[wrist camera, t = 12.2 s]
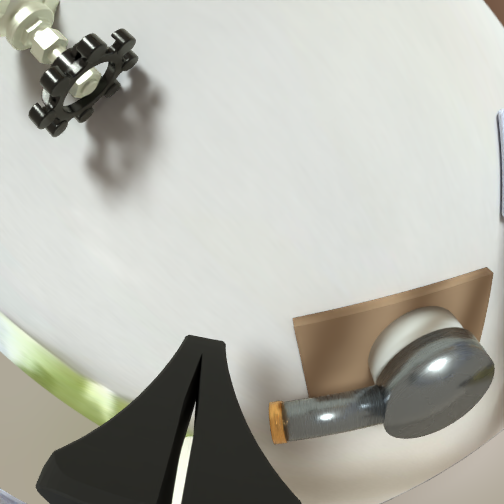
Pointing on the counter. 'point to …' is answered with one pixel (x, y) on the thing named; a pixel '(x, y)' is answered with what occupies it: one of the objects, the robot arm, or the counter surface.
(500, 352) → the counter surface
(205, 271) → the counter surface
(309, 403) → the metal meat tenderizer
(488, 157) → the counter surface
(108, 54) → the valve
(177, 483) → the pepper shaker
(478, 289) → the thin wooden panel
